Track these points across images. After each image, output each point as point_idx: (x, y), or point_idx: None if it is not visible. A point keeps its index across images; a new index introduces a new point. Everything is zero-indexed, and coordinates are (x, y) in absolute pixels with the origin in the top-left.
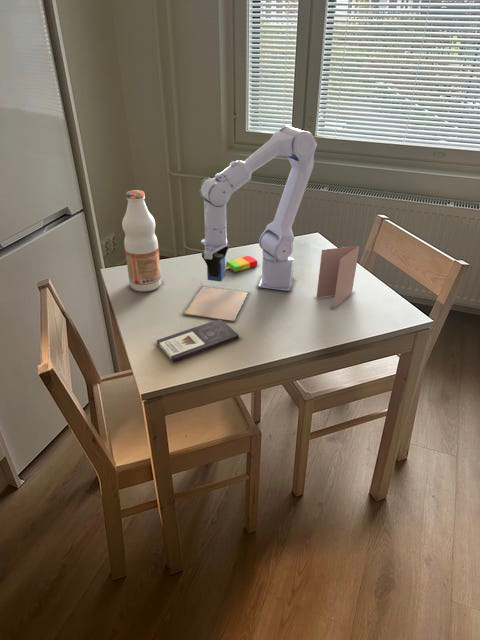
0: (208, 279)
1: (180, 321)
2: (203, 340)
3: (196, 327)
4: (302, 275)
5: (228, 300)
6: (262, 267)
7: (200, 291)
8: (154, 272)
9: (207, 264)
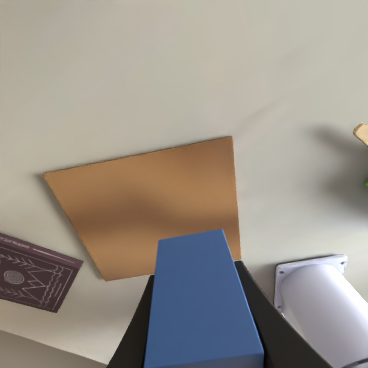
0: (159, 245)
1: (9, 182)
2: None
3: (3, 245)
4: None
5: None
6: (332, 313)
7: (194, 148)
8: None
9: (112, 364)
